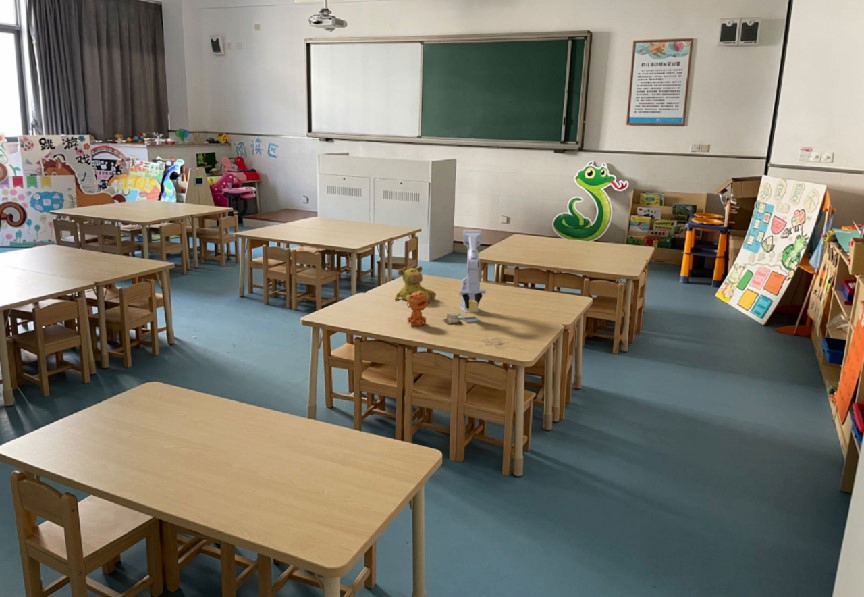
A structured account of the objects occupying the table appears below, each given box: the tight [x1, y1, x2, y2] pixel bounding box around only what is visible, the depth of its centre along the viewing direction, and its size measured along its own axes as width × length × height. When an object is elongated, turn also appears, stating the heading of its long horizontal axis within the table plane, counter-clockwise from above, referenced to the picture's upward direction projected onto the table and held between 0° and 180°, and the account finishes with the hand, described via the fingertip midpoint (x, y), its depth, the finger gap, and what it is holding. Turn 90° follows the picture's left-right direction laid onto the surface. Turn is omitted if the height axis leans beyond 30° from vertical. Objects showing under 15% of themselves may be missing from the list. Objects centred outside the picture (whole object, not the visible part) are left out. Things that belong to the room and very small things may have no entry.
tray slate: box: [461, 316, 482, 324], centre depth 348 cm, size 8×8×1 cm
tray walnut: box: [442, 318, 463, 326], centre depth 344 cm, size 8×8×1 cm
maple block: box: [446, 311, 459, 323], centre depth 344 cm, size 4×4×4 cm
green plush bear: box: [394, 265, 437, 302], centre depth 384 cm, size 20×24×19 cm
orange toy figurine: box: [406, 290, 430, 327], centre depth 337 cm, size 11×11×18 cm
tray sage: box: [457, 312, 466, 320], centre depth 353 cm, size 8×8×1 cm
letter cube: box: [466, 300, 479, 313], centre depth 346 cm, size 4×4×5 cm
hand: (471, 307), depth 346 cm, fingers closed on letter cube, 4 cm apart
